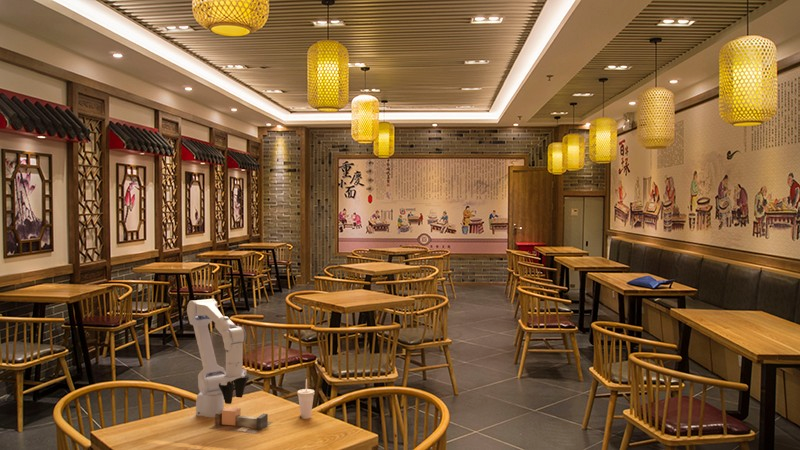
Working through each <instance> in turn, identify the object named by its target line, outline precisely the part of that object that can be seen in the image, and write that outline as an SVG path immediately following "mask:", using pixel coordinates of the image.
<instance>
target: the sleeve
mask: <svg viewBox="0 0 800 450" xmlns="http://www.w3.org/2000/svg"><path fill="white" fill-rule="evenodd" d="M236 416H241V407H235V406H234V407H232V406H227V407H226V408H224V409H223V410H222V424H224V425H234V426H235V425H236Z"/></svg>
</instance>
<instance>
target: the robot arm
mask: <svg viewBox="0 0 800 450" xmlns="http://www.w3.org/2000/svg"><path fill="white" fill-rule="evenodd" d="M186 313H187V317H188V321H189V325H191V326H193V330H194V335H195V339H196V343H197V348H198V351H199V352H198V353H199V355H200V359H201V360H200V361H201V365H202V370H200V372H199V373H198V375H197V386H198V391H199V393H198V394H197V396H196V399H195V416H198V417H199V416H200V417H203V418H204V417H206V418H215V414H216V413H218V412H219V411H221V410H223V409H225V408H224V405H225V404H227V405H231V404H232V403H233V395H234V391H235V397H236V398H243V396H244V392H245V389H246V385H247V383H248V381H249V376H248V375H247V372H248V371H247V369H243V358H244V357H243V351H244V350H243V349H244V347H243V344H244V343H245V342H246V339H247V332H246V329H245V328H244V327H243V326H239V325H236V324H235V323H234V322H233V321H232V320H231V319H230V317H228V316H224V315H223V314H222V313H221V311H220V310H219V308H218V302H217V300H216V299H215V298H213V297H212V298H209V299H207V298H206V299H197V300H189V302H188V303H187V308H186ZM212 322H214V327H215V329H216V330H217V331H218V333H219V334H220V335H221V336H222V341H223V348H224V350H225V367H222V366H221V365H219V364H218V362H217V358H216V354H215V350H214V346H213V342H212V337H211V334H210V330H209V324H211V323H212ZM231 382H233V384H232V383H231ZM224 403H225V404H224Z"/></svg>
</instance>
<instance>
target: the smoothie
mask: <svg viewBox="0 0 800 450" xmlns="http://www.w3.org/2000/svg"><path fill="white" fill-rule="evenodd" d="M296 395H297V396H298V402H299V403H298V405H299V413H300V418H301V419H303V420H308V419H311V418H312V410H313V403H314V396H315V390H314V389H311V388H308V379H307V378H306V379H305V388H302V389H299V390H297V394H296Z"/></svg>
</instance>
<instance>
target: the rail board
mask: <svg viewBox="0 0 800 450" xmlns="http://www.w3.org/2000/svg"><path fill="white" fill-rule="evenodd" d="M214 423H215V424H213V426H211V427H209V428H208V429H209V430H218V431H219V430H220V431H227V432H235V433H237V432H238V433H246V434H248V433H249V434H255V435H256V434H258V433H260V432H261V431H262V430H264V429H266V428H267V427H268V426H269V425H271V424H272V423H273V421H269V420H268V413H262V414H260V415H258V417H257V416H247V415H246V416H245V415H240V416H236V425H235V426H234V425H224V424H222V410H221V411H219V412H218V413H216V414H215V417H214Z"/></svg>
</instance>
